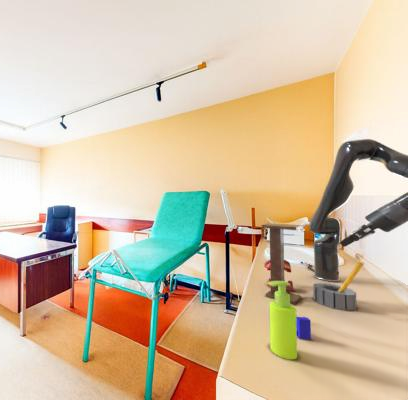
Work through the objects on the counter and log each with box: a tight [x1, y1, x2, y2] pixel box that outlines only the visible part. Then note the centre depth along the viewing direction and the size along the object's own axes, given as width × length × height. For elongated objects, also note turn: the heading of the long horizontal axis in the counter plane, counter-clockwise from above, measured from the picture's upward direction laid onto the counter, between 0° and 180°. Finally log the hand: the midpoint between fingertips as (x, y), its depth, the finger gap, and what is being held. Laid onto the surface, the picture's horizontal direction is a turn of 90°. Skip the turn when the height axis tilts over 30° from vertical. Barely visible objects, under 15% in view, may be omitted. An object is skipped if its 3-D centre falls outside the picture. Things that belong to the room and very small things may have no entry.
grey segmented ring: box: [312, 282, 357, 311], centre depth 88 cm, size 12×12×6 cm
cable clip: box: [296, 316, 312, 340], centre depth 72 cm, size 12×4×6 cm, turn 168°
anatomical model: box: [263, 259, 294, 293], centre depth 104 cm, size 10×8×15 cm
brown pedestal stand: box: [261, 222, 304, 306], centre depth 94 cm, size 12×10×32 cm
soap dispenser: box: [266, 280, 298, 360], centre depth 61 cm, size 6×7×20 cm
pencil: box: [338, 260, 365, 292], centre depth 85 cm, size 20×1×1 cm
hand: (343, 243), depth 86 cm, fingers open, 8 cm apart
